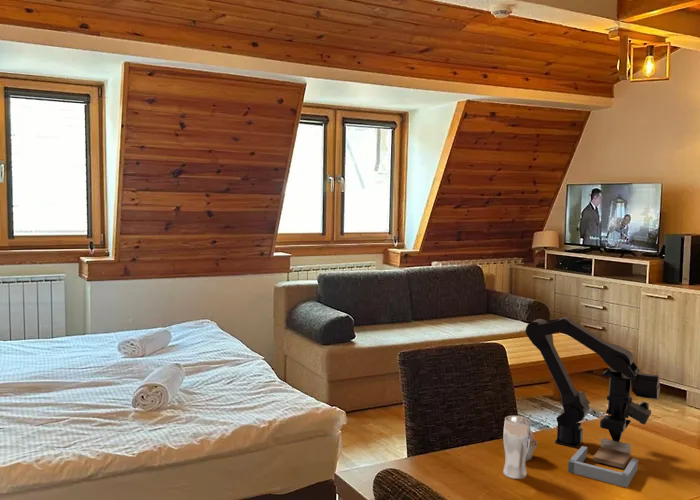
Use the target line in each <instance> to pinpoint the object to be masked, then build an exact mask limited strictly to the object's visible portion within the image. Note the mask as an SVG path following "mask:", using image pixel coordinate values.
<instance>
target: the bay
mask: <svg viewBox="0 0 700 500" xmlns="http://www.w3.org/2000/svg"><path fill="white" fill-rule="evenodd" d="M587 458H588V446H584V445H581V446H580V448H579V449H578V450H577V451H576V452H575V453H574V454H573V456H572V457H571V458H570V459H569V460H568V463H567V472H568V473H571V474H575V475H579V476H582V477H586V478H590V479H593V480H597V481H600V482H601V481H602V482H605V483H607V484H612V485H616V486H620V487H623V488H628V487H629V485H630V483H631V482H632V480H633V478H634V476H635V475H636V474H637V471H638V470H639V469H638V467H639V459H638V458H633V457H632V458H630V461H628V464H627V466H626V468H624V469H623V470H624V471H623V472H621V471H618V470H613V469H609V468H605V467H600V466H598V465H593V464H590V463H585V462H584V461H585V460H587Z"/></svg>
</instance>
